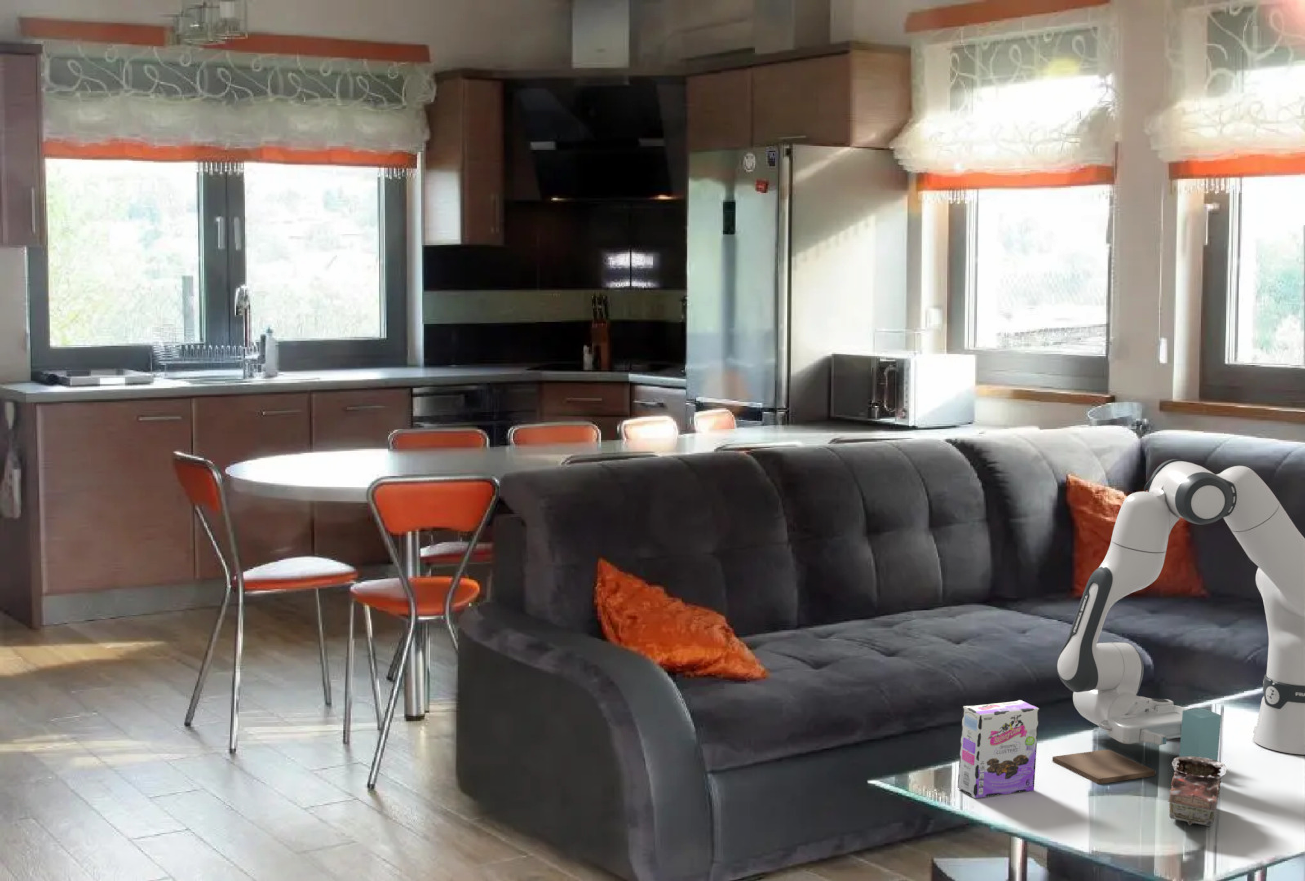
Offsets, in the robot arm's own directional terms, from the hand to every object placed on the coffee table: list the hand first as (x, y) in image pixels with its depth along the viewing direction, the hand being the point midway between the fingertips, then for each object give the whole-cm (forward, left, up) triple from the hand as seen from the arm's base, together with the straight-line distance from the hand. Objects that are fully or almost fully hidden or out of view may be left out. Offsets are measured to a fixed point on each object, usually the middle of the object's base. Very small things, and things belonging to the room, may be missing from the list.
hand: (1182, 738), depth 329 cm
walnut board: (+12, -8, -7) cm, 16 cm away
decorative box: (+14, +22, -8) cm, 27 cm away
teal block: (0, +5, -8) cm, 9 cm away
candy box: (+40, -5, -8) cm, 41 cm away
